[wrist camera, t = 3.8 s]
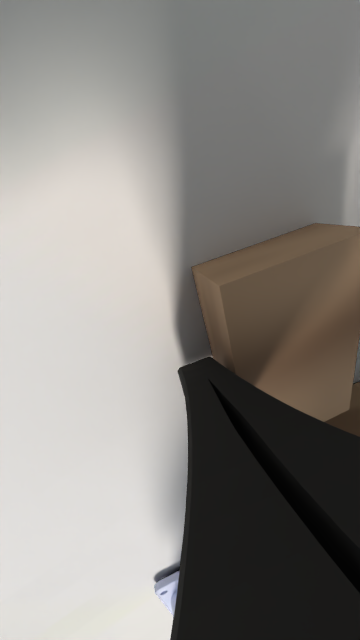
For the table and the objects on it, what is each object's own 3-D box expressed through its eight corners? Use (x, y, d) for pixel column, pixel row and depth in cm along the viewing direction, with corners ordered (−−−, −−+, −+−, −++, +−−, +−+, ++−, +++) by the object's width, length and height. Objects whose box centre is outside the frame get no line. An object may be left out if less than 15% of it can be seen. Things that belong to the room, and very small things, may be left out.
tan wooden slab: (307, 375, 13) (349, 409, 11) (224, 413, 12) (251, 457, 10) (309, 222, 9) (374, 228, 7) (188, 265, 8) (219, 286, 6)
